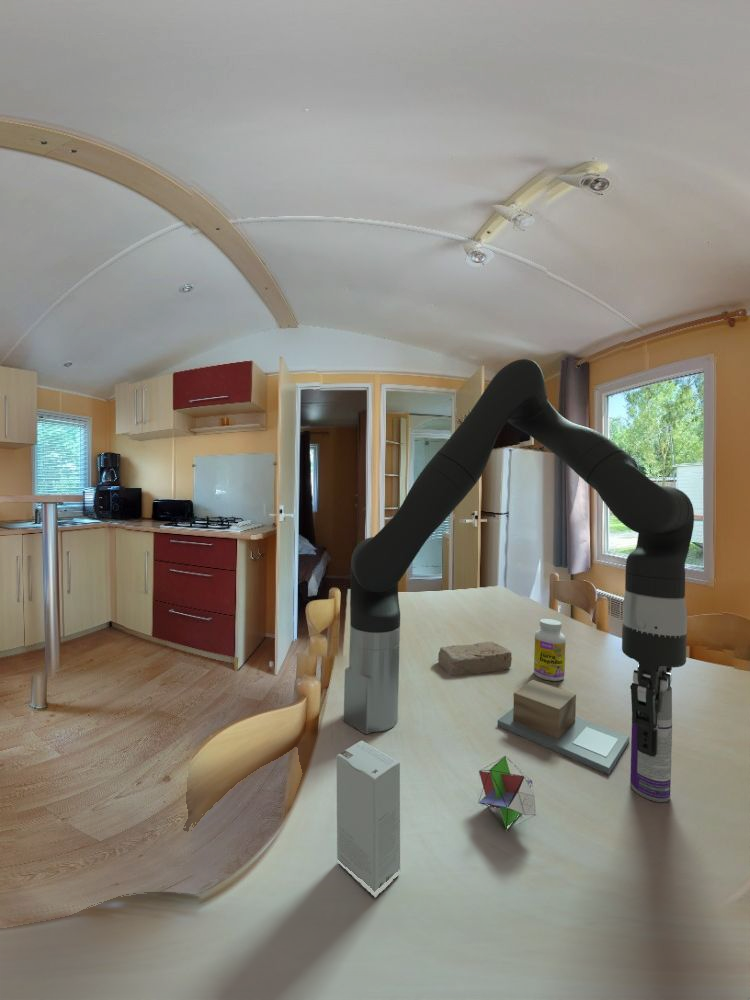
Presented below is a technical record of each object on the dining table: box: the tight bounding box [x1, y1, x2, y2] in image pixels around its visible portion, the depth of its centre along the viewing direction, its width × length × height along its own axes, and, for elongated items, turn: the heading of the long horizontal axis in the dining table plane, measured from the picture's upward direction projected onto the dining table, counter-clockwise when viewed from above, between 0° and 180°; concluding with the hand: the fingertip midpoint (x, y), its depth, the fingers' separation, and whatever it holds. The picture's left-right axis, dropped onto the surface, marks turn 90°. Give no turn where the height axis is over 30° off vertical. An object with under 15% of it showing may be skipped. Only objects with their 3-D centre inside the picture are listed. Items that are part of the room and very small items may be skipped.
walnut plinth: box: [512, 679, 577, 739], centre depth 73 cm, size 8×8×5 cm
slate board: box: [497, 708, 630, 775], centre depth 71 cm, size 12×18×1 cm, turn 45°
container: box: [629, 685, 673, 803], centre depth 57 cm, size 5×5×15 cm
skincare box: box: [335, 740, 401, 892], centre depth 44 cm, size 6×4×12 cm
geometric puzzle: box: [477, 754, 537, 831], centre depth 51 cm, size 7×7×8 cm
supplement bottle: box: [533, 618, 567, 682], centre depth 95 cm, size 7×7×13 cm
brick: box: [437, 641, 513, 676], centre depth 100 cm, size 17×8×5 cm, turn 107°
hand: (651, 744), depth 57 cm, fingers closed on container, 4 cm apart
